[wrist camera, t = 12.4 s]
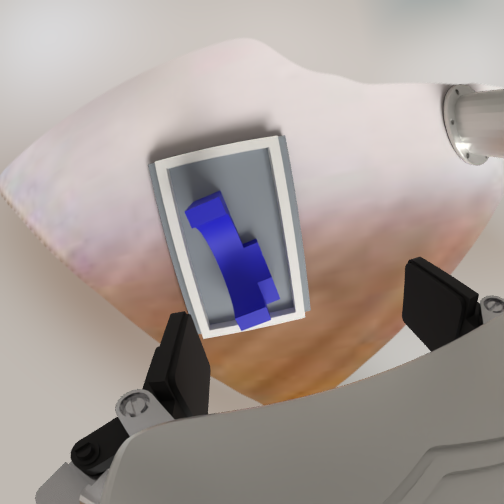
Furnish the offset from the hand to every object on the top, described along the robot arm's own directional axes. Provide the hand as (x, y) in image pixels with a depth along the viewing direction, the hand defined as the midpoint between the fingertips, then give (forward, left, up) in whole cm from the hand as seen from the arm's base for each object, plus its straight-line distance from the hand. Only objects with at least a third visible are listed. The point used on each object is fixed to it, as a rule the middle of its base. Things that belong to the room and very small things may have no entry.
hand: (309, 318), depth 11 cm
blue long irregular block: (+3, +2, -19) cm, 19 cm away
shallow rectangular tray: (+3, +2, -19) cm, 20 cm away
